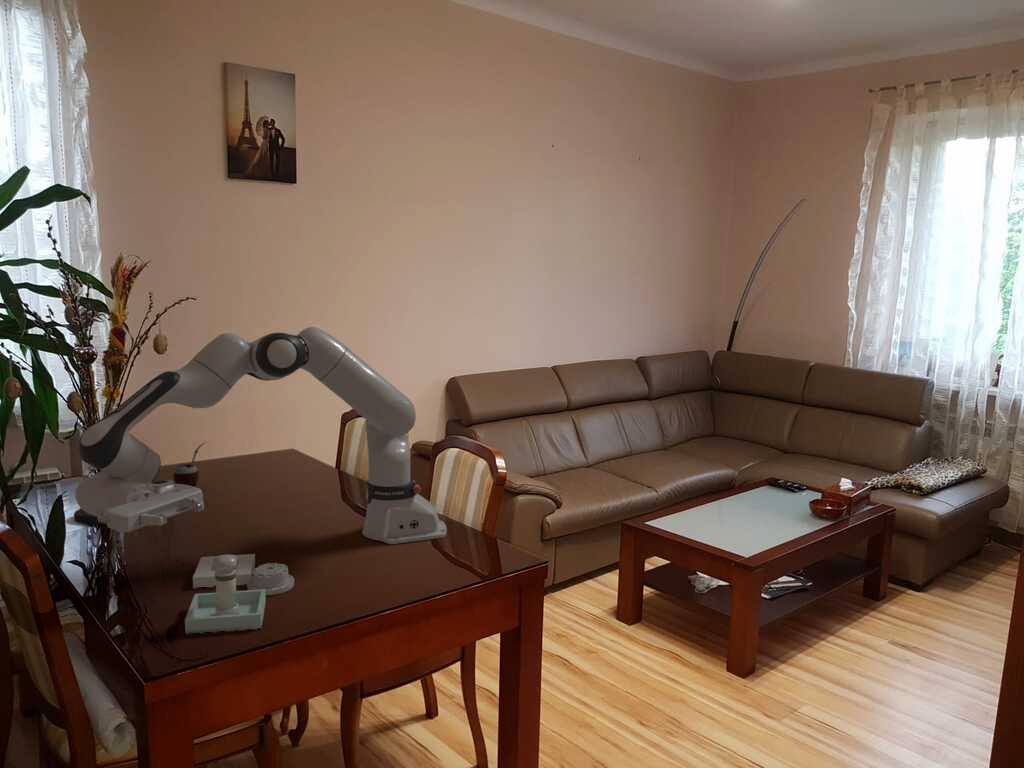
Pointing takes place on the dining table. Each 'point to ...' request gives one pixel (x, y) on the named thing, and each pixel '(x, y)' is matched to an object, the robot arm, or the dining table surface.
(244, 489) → the dining table surface
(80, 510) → the media streaming box
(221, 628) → the parts tray
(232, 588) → the grey peg
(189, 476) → the mate gourd
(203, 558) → the grey square frame
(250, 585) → the mechanical component
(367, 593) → the dining table surface
